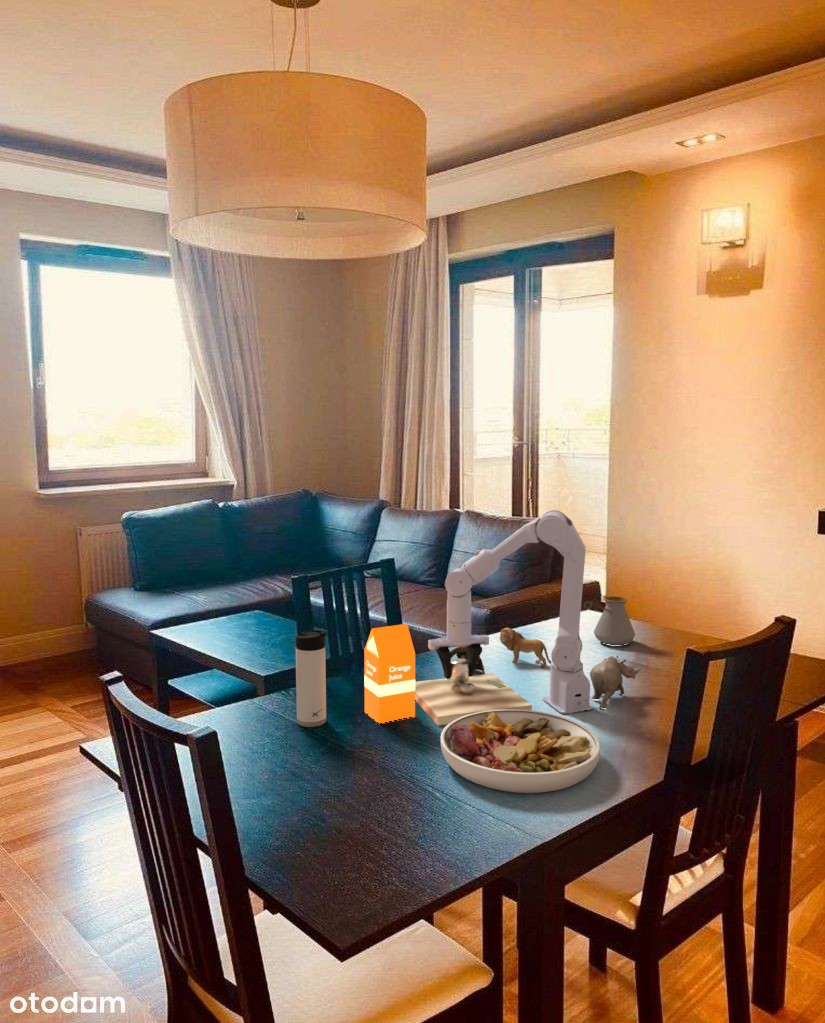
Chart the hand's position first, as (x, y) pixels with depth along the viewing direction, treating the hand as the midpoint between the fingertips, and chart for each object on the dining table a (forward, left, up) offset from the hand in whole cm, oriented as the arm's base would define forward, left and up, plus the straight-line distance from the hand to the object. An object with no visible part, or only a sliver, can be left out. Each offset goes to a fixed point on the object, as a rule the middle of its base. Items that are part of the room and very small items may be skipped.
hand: (458, 676), depth 190 cm
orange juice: (-8, +19, -4) cm, 21 cm away
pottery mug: (+13, -7, -4) cm, 15 cm away
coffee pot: (+22, -53, -4) cm, 58 cm away
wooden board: (-6, 0, -4) cm, 7 cm away
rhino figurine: (-13, -33, -4) cm, 36 cm away
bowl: (-38, +2, -5) cm, 38 cm away
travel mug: (-6, +36, -4) cm, 37 cm away
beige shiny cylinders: (-2, 0, -2) cm, 2 cm away
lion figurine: (+16, -25, -4) cm, 30 cm away
